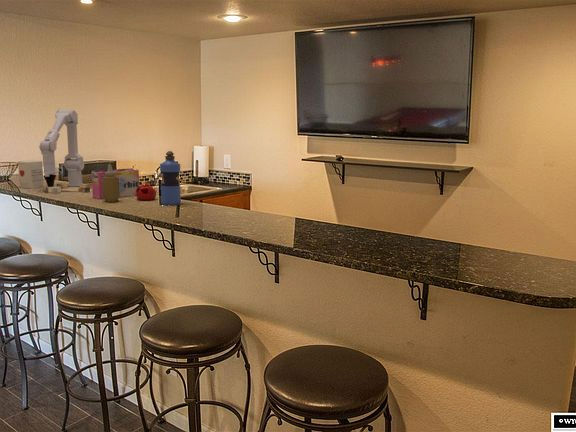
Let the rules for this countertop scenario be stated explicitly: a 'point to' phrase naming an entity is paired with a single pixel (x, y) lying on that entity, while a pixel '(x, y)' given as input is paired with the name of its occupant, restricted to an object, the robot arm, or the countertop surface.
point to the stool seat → (75, 188)
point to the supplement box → (30, 174)
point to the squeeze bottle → (110, 186)
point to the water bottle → (170, 181)
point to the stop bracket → (55, 191)
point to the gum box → (126, 181)
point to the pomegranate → (145, 192)
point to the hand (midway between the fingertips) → (50, 188)
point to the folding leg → (49, 189)
